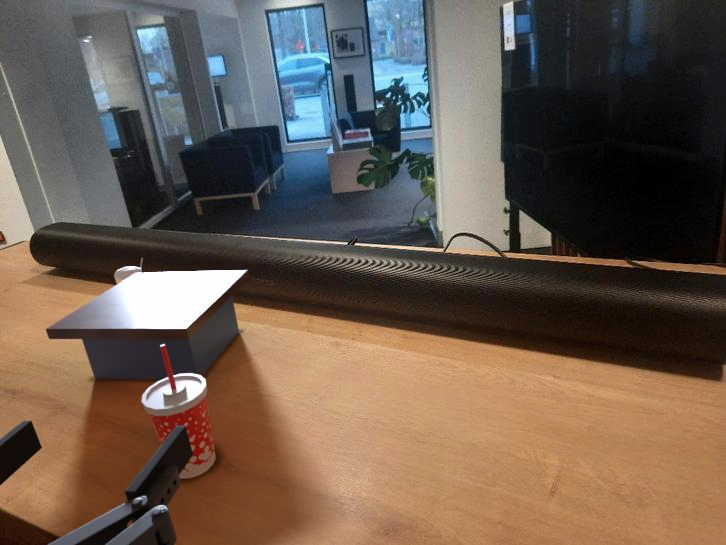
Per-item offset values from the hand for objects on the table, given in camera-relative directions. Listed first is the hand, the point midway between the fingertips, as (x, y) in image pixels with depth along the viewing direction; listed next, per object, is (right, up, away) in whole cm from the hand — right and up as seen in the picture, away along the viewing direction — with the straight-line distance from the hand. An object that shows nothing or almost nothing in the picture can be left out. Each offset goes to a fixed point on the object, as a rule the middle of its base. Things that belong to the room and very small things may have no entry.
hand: (106, 436), depth 39 cm
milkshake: (-20, +5, +51) cm, 55 cm away
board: (-9, +8, +33) cm, 35 cm away
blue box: (-9, +1, +36) cm, 37 cm away
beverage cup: (+3, -7, +13) cm, 15 cm away
